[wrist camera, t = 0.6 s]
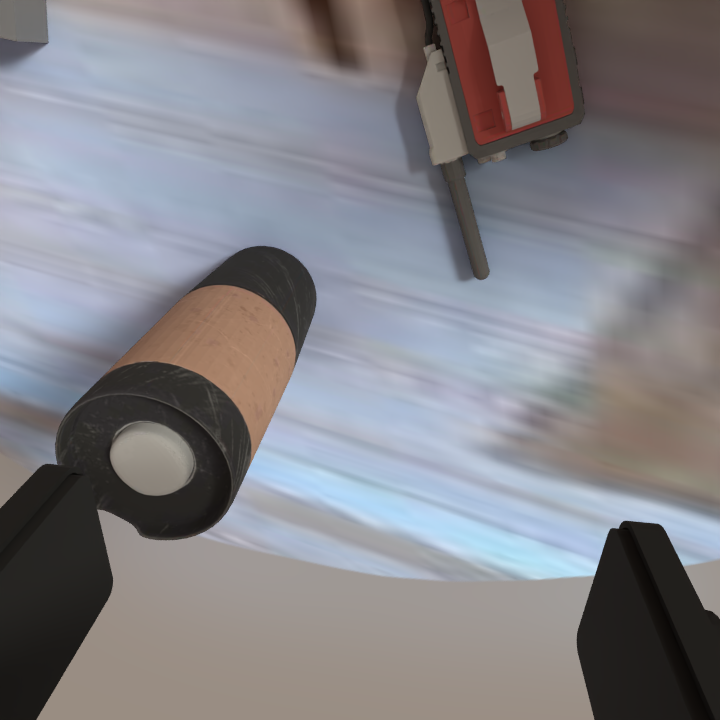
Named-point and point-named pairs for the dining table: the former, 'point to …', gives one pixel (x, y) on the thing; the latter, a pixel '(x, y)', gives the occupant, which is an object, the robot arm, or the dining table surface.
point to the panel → (23, 20)
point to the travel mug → (193, 397)
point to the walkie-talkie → (495, 89)
